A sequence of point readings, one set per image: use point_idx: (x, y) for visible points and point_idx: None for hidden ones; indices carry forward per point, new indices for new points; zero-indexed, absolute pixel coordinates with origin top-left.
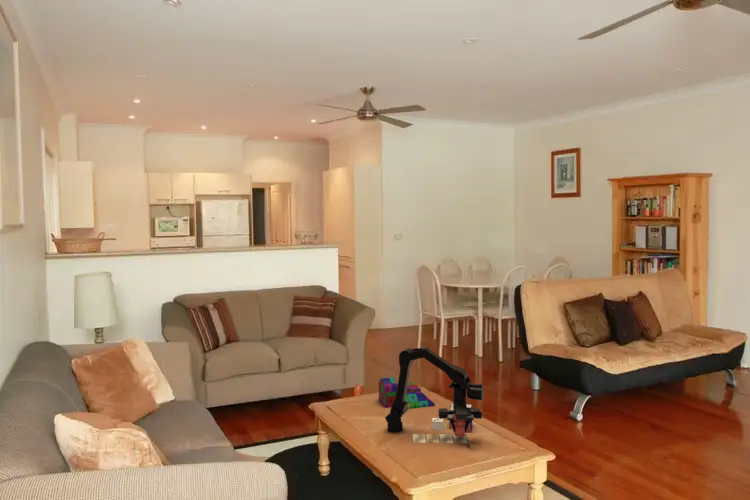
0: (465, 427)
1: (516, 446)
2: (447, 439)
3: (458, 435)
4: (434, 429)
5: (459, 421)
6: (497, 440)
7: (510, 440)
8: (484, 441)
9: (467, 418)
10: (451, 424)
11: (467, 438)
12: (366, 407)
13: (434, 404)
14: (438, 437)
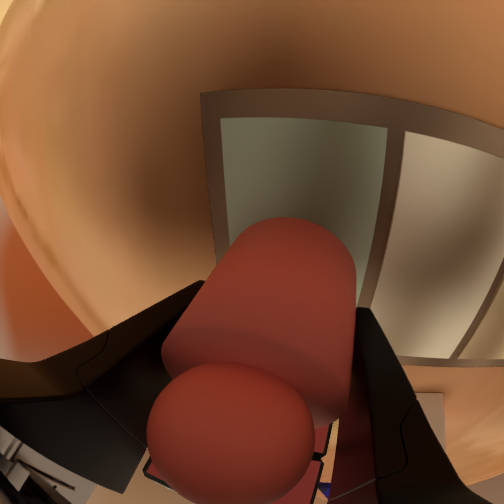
0: (160, 326)
1: (7, 151)
2: (443, 249)
3: (317, 235)
4: (434, 408)
5: (215, 474)
6: (62, 225)
7: (31, 221)
8: (109, 214)
9: (9, 431)
10: (317, 433)
11: (218, 252)
12: (482, 472)
13: (319, 486)
14: (492, 304)
